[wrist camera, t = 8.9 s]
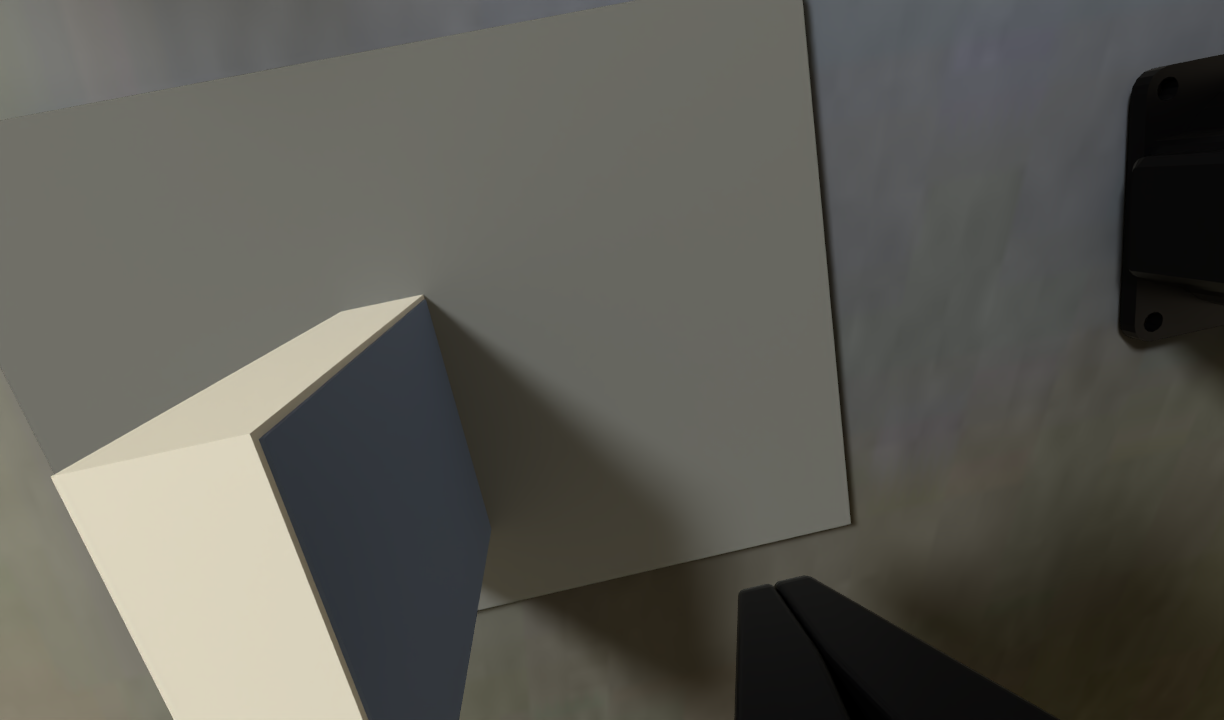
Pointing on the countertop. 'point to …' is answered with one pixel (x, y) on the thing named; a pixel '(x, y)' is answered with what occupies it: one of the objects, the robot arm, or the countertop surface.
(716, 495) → the mat
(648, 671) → the countertop surface
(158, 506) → the card box
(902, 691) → the robot arm
